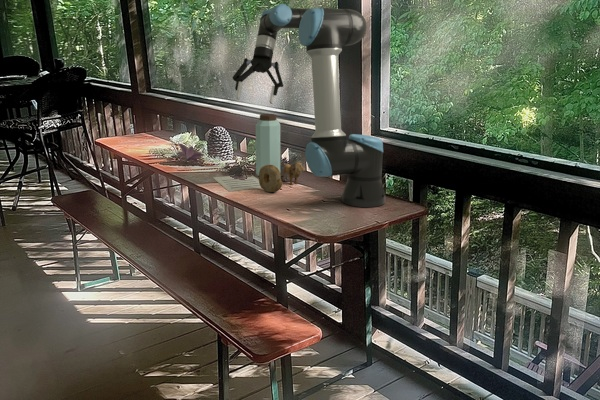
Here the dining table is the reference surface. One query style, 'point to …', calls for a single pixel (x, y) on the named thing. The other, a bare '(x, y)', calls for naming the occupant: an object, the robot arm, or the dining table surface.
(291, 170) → the lion figurine
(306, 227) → the dining table surface
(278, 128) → the water bottle
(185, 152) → the lily
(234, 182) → the letter
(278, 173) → the stone disc
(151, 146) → the dining table surface
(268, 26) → the robot arm
